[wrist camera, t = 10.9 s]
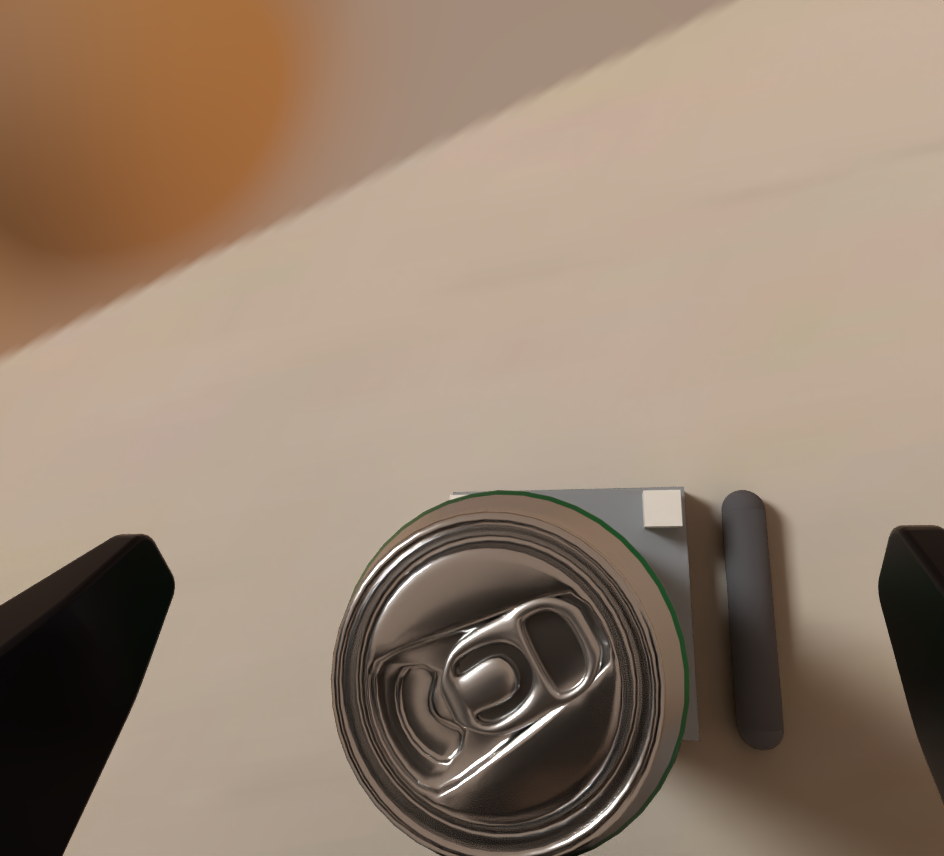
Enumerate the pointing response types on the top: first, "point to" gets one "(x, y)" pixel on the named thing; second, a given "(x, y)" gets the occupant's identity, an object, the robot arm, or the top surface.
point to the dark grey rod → (752, 621)
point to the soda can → (510, 678)
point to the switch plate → (649, 549)
